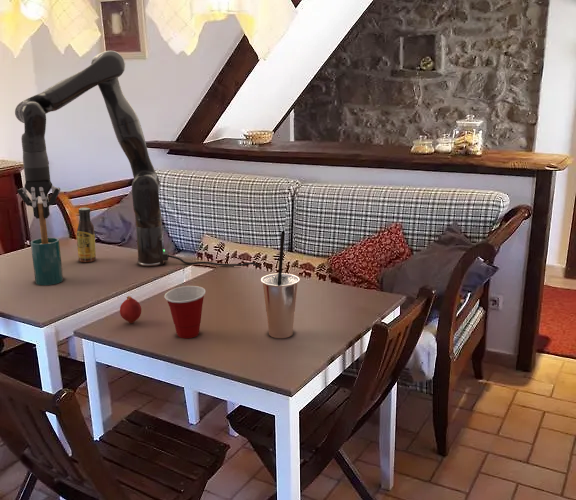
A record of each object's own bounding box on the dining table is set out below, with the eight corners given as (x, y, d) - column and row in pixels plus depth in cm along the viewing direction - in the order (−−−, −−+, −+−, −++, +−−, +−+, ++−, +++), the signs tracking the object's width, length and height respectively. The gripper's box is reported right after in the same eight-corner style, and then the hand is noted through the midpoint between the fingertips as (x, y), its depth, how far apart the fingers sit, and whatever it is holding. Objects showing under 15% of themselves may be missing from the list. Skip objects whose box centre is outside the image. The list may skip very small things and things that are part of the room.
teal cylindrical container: (66, 276, 220) (61, 237, 216) (59, 284, 211) (55, 243, 207) (39, 277, 219) (34, 238, 215) (32, 285, 210) (27, 244, 207)
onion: (131, 317, 182) (129, 291, 180) (146, 321, 180) (144, 294, 177) (116, 324, 178) (114, 297, 175) (131, 328, 175) (129, 300, 173)
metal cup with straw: (284, 346, 162) (283, 232, 154) (252, 335, 169) (249, 225, 161) (310, 333, 170) (311, 224, 162) (279, 323, 177) (277, 218, 169)
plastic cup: (159, 333, 171) (156, 291, 168) (194, 323, 178) (192, 282, 174) (179, 346, 163) (176, 302, 160) (215, 335, 169) (213, 292, 166)
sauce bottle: (75, 262, 236) (70, 209, 230) (85, 257, 242) (80, 206, 236) (90, 263, 234) (85, 210, 229) (100, 259, 240) (95, 207, 234)
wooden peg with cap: (56, 259, 216) (50, 201, 210) (52, 263, 211) (46, 204, 206) (41, 259, 216) (34, 201, 210) (37, 264, 211) (30, 204, 205)
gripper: (10, 167, 200) (16, 221, 205) (55, 166, 202) (61, 220, 206) (17, 164, 208) (24, 216, 212) (61, 163, 209) (66, 215, 213)
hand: (42, 217), depth 209 cm, fingers closed on wooden peg with cap
